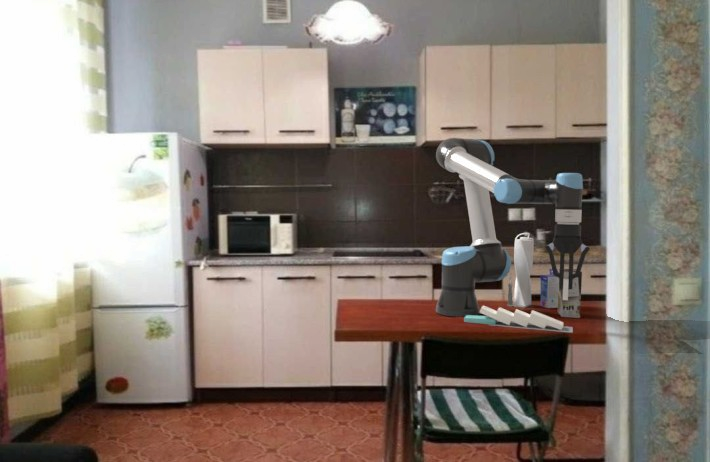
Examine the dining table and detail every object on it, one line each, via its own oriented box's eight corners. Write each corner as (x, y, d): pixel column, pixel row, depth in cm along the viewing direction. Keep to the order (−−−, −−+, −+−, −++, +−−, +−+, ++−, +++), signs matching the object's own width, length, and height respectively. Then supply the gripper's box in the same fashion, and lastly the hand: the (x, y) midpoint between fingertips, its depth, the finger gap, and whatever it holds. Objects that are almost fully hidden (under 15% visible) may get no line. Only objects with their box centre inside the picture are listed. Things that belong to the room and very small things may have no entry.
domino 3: (544, 329, 170) (513, 316, 173) (545, 325, 175) (514, 313, 178) (546, 324, 170) (514, 311, 173) (546, 321, 174) (516, 308, 178)
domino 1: (509, 325, 174) (479, 312, 177) (510, 322, 178) (481, 309, 182) (511, 320, 174) (481, 307, 177) (512, 317, 178) (483, 305, 181)
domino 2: (526, 327, 172) (495, 314, 175) (527, 324, 177) (497, 311, 180) (528, 322, 172) (497, 309, 175) (529, 319, 176) (499, 307, 179)
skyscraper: (515, 302, 217) (517, 232, 216) (535, 305, 212) (537, 233, 210) (506, 305, 211) (508, 233, 209) (527, 308, 205) (529, 234, 204)
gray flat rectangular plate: (488, 326, 175) (488, 325, 175) (491, 321, 182) (491, 320, 182) (572, 333, 166) (572, 332, 166) (572, 328, 173) (572, 327, 173)
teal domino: (495, 324, 175) (464, 322, 179) (497, 321, 180) (466, 319, 184) (495, 319, 175) (463, 318, 179) (497, 316, 180) (466, 315, 183)
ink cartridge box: (561, 305, 214) (562, 268, 213) (570, 307, 208) (571, 269, 208) (538, 305, 211) (540, 268, 210) (547, 308, 206) (548, 270, 205)
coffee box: (581, 318, 189) (582, 271, 188) (561, 317, 190) (562, 271, 189) (575, 313, 198) (577, 268, 197) (557, 312, 199) (558, 268, 198)
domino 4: (561, 330, 168) (529, 317, 171) (561, 327, 173) (530, 314, 176) (563, 325, 168) (531, 312, 171) (563, 322, 173) (532, 310, 176)
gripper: (545, 223, 167) (542, 299, 169) (591, 224, 163) (588, 303, 164) (546, 222, 174) (543, 296, 176) (590, 223, 170) (587, 299, 171)
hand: (565, 299), depth 170 cm, fingers closed
